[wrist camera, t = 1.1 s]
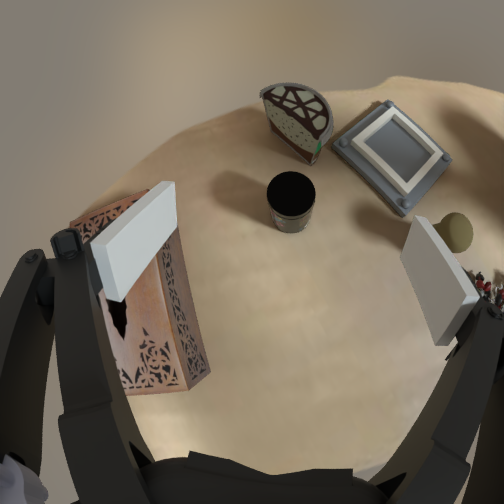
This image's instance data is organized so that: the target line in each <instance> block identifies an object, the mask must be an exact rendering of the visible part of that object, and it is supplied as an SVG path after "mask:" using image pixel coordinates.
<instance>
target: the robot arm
mask: <svg viewBox="0 0 504 504" xmlns="http://www.w3.org/2000/svg"><path fill="white" fill-rule="evenodd" d="M176 227H177V215H176V199H175V182H171V181H161V182H160V183H159V184H158V185H156V186H155V187H154V188H152V189H151V190H150V191H149V192H148V193H146V194H145V195H144V196H143V197H141V198H140V199H139V200H138V201H137V202H135V203H134V204H133V205H132V206H131V207H129V208H128V209H127V210H126V211H125V212H124V213H122V214H121V215H120V216H119V217H118V218H115V219H113V220H111V221H109V222H107V223H106V224H105V225H104V226H103V227H101V229H99V230H98V231H97V232H96V234H94V235H93V236H91V237H90V238H89V239H88V240H87V241H86V242H85V243H84V244H83V242H82V238H81V234H80V231H79V230H78V229H76V228H68V229H64V230H62V231H59V232H58V233H56V234H55V235H54V236H53V237H52V238H51V240H50V242H51V245H52V248H53V251H54V254H55V257H56V258H53V259H46V257H45V254H44V252H43V250H41V249H34V250H29V251H28V252H26V253H25V254H24V255H23V256H22V257H21V258H20V260H19V261H18V263H17V265H16V267H15V269H14V271H13V273H12V275H11V277H10V279H9V281H8V283H7V285H6V287H5V289H4V291H3V293H2V295H1V297H0V504H45V503H44V501H46V500H47V499H48V491H47V489H46V488H45V487H44V486H43V485H42V482H41V480H40V479H39V474H40V466H41V459H42V428H43V412H44V400H45V390H46V382H47V375H48V368H49V361H50V356H51V350H52V345H53V340H54V335H55V341H56V355H57V365H58V373H59V381H60V388H61V394H62V401H63V406H64V414H62V415H60V416H59V418H58V426H59V432H60V436H61V440H62V445H63V449H64V453H65V456H66V460H67V464H68V467H69V470H70V474H71V477H72V480H73V483H74V486H75V489H76V492H77V494H78V497H79V500H78V501H76V502H73V503H71V504H454V502H455V500H456V498H457V496H458V494H459V493H460V491H461V489H462V487H463V485H464V483H465V481H466V479H467V477H468V475H469V472H470V469H471V466H470V464H469V463H467V462H466V457H467V454H468V452H469V450H470V447H471V445H472V443H473V441H474V438H475V436H476V433H477V430H478V428H479V425H480V430H479V437H478V442H477V447H476V452H475V457H474V461H473V466H472V469H471V473H470V477H469V481H468V485H467V487H466V491H465V494H464V497H463V500H462V503H461V504H504V315H503V312H502V311H501V310H500V309H499V308H498V307H497V306H496V305H494V304H492V303H489V302H485V300H484V298H483V297H482V295H481V293H480V292H479V290H478V288H477V287H476V286H475V283H474V282H473V280H472V279H471V277H470V275H469V274H468V272H467V271H466V270H465V269H464V268H463V267H462V266H461V265H460V264H459V263H458V261H457V260H456V258H455V257H454V255H453V254H452V252H451V251H450V249H449V248H448V247H447V245H446V244H445V242H444V241H443V240H442V238H441V237H440V236H439V234H438V233H437V231H436V230H435V229H434V228H433V226H432V225H431V224H430V222H429V221H428V220H427V218H425V217H421V216H416V215H414V218H413V221H412V224H411V227H410V230H409V233H408V236H407V239H406V242H405V245H404V247H403V250H402V253H401V256H400V259H401V261H402V263H403V265H404V267H405V270H406V272H407V274H408V276H409V279H410V281H411V283H412V286H413V288H414V291H415V293H416V295H417V298H418V300H419V303H420V305H421V308H422V311H423V313H424V316H425V319H426V321H427V324H428V327H429V330H430V332H431V335H432V338H433V341H434V344H435V346H448V345H449V344H450V342H451V341H452V340H453V338H454V337H455V336H456V339H457V341H458V343H457V344H456V346H455V347H454V348H453V350H452V351H451V352H450V354H449V355H448V356H447V357H446V359H445V360H446V361H447V360H448V359H449V360H448V362H447V364H446V366H445V368H444V370H443V372H442V375H441V377H440V379H439V381H438V383H437V385H436V386H435V388H434V390H433V392H432V394H431V396H430V398H429V400H428V401H427V403H426V405H425V407H424V408H423V410H422V412H421V413H420V415H419V417H418V418H417V420H416V422H415V423H414V425H413V426H412V428H411V430H410V431H409V433H408V434H407V436H406V437H405V439H404V440H403V442H402V443H401V445H400V446H399V447H398V449H397V450H396V452H395V453H394V454H393V456H392V457H391V458H390V460H389V461H388V462H387V464H386V465H385V466H384V467H383V468H382V469H381V470H380V471H379V472H378V473H377V474H376V475H375V476H373V478H371V479H370V480H369V481H368V482H367V481H365V480H363V479H360V478H357V477H353V469H311V470H305V471H300V472H294V473H287V474H280V475H269V474H265V473H263V472H260V471H257V470H255V469H252V468H249V467H247V466H244V465H242V464H239V463H237V462H235V461H232V460H230V459H224V458H219V457H215V456H210V455H206V454H201V453H197V452H193V451H190V452H189V455H188V457H178V458H169V459H163V460H160V461H156V462H155V460H154V458H153V456H152V454H151V452H150V450H149V449H148V447H147V445H146V444H145V442H144V440H143V438H142V436H141V434H140V431H139V429H138V426H137V424H136V421H135V419H134V416H133V414H132V411H131V408H130V405H129V403H128V400H127V397H126V394H125V391H124V388H123V385H122V382H121V379H120V376H119V372H118V369H117V366H116V362H115V359H114V355H113V352H112V348H111V344H110V340H109V336H108V332H107V328H106V324H105V319H104V315H103V310H102V305H101V300H100V297H99V292H100V291H101V290H102V289H104V292H105V295H106V298H107V299H110V300H114V301H118V302H122V300H123V299H124V297H125V296H126V295H127V293H128V292H129V290H130V289H131V287H132V286H133V285H134V283H135V282H136V280H137V279H138V278H139V276H140V275H141V273H142V272H143V271H144V269H145V268H146V267H147V265H148V264H149V263H150V261H151V260H152V259H153V257H154V256H155V255H156V253H157V252H158V251H159V249H160V248H161V247H162V245H163V244H164V243H165V241H166V240H167V239H168V238H169V236H170V235H171V234H172V232H173V231H174V230H175V229H176ZM480 422H481V423H480Z"/></svg>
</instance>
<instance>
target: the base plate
mask: <svg viewBox="0 0 504 504" xmlns="http://www.w3.org/2000/svg"><path fill="white" fill-rule="evenodd" d="M332 149H334V150H335V151H336V152H337V153H338V154H339V155H340V156H341V157H342V158H344V159H345V160H346V161H347V162H348V163H349V164H350V165H351V166H352V167H353V168H354V169H355V170H356V171H357V172H358V173H360V174H361V175H362V176H363V177H364V178H365V179H366V180H367V181H368V182H369V183H370V184H371V185H372V186H373V187H374V188H375V189H376V190H377V191H378V192H379V193H380V194H381V195H382V196H383V198H384V199H385V200H386V201H387V202H388V203H389V204H390V205H391V206H392V207H393V208H394V209H395V210H396V211H397V212H398V214H399V215H400V216H401V217H402V218H403V217H405V216H406V215H407V214H408V213H409V211H410V210H411V209H412V208H413V207H414V206H415V205H416V204H417V202H418V201H419V200H420V199H421V198H422V197H423V195H424V194H425V193H426V192H427V191H428V190H429V188H430V187H431V186H432V185H433V184H434V182H435V181H436V180H437V179H438V178H439V176H440V175H441V174H442V173H443V171H444V170H445V169H446V168H447V167H448V165H449V164H450V163H451V161H452V159H451V158H450V155H449V154H448V153H446V152H445V151H444V150H443V149H442V148H441V147H440V146H439V145H438V144H437V143H436V142H435V141H434V140H433V139H432V138H431V137H430V136H429V135H428V134H427V133H426V132H425V131H424V130H423V129H422V128H421V127H419V126H418V125H417V124H416V123H415V122H414V121H413V120H412V119H411V118H409V117H408V116H407V115H406V114H405V113H404V112H403V111H401V110H400V109H399V108H398V107H397V106H395V105H394V103H393V102H392V101H389V100H386V101H385V102H384V103H382V104H381V105H380V106H379V107H377V108H376V109H375V110H374V111H372V112H371V113H370V114H368V115H367V116H366V117H365V118H363V119H362V120H361V121H360V122H358V123H357V124H356V125H355V126H353V127H352V128H351V129H350V130H348V131H347V132H346V133H345V134H343V135H342V136H341V137H340V138H338V139H337V140H336V141H335V142H333V144H332Z"/></svg>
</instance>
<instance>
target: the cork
mask: <svg viewBox="0 0 504 504" xmlns="http://www.w3.org/2000/svg"><path fill="white" fill-rule="evenodd" d="M432 226H433V228H434V229H435V230H436V231H437V233H438V234H439V236H440V237H441V238H442V240H443V241H444V242H445V244H446V245H447V247H448V248H449V249H450V251H451V252H452V253H461V252H463V251H465V250H466V249H467V248H468V247H469V246H470V245H471V242H472V240H473V228H472V225H471V223H470V221H469V220H468V219H467V218H466V217H465V216H464V215H462V214H460V213H450V214H448V215H446V216H445V217H444V218H443V219H442V221H441V223H438V224H434V225H432Z"/></svg>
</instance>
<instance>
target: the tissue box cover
mask: <svg viewBox="0 0 504 504" xmlns="http://www.w3.org/2000/svg"><path fill="white" fill-rule="evenodd" d="M149 191H150V190H149V189H146V190H144V191H141V192H139V193H136V194H133V195H131V196H128V197H126V198H124V199H121V200H119V201H116V202H114V203H112V204H109V205H107V206H105V207H102V208H100V209H98V210H95V211H93V212H91V213H89V214H86V215H84V216H82V217H80V218H78V219H76V220H73V221H71V222H70V228H76V229H78V230H79V231H80V234H81V238H82V242H83V244H84V243H85V242H86V241H87V240H88V239H89V238H90V237H91V236H93V235H94V234H96V232H97V231H98V230H99V229H101V227H103V226H104V225H105V224H106V223H107V222H109V221H111V220H113V219H115V218H118V217H119V216H120V215H121V214H122V213H124V212H125V211H126V210H127V209H128V208H129V207H131V206H132V205H133V204H134V203H135V202H137V201H138V200H139V199H140V198H141V197H143V196H144V195H145V194H146V193H148V192H149ZM99 297H100V300H101V305H102V310H103V315H104V319H105V324H106V328H107V332H108V336H109V340H110V344H111V348H112V352H113V355H114V359H115V362H116V366H117V369H118V372H119V376H120V379H121V382H122V385H123V388H124V391H125V394H126V396H131V395H148V394H160V393H171V392H181V391H189V390H190V389H191V388H192V387H194V386H195V385H196V384H197V383H198V382H200V381H201V380H202V379H203V378H204V377H206V376H207V375H208V374H209V373H210V372H211V371H210V367H209V364H208V360H207V356H206V352H205V349H204V345H203V341H202V337H201V333H200V329H199V325H198V320H197V316H196V312H195V308H194V303H193V299H192V295H191V290H190V285H189V281H188V276H187V271H186V266H185V261H184V256H183V251H182V246H181V241H180V235H179V230H178V224H177V227H176V229H175V230H174V231H173V232H172V234H171V235H170V236H169V238H168V239H167V240H166V241H165V243H164V244H163V245H162V247H161V248H160V249H159V251H158V252H157V253H156V255H155V256H154V257H153V259H152V260H151V261H150V263H149V264H148V265H147V267H146V268H145V269H144V271H143V272H142V273H141V275H140V276H139V278H138V279H137V280H136V282H135V283H134V285H133V286H132V287H131V289H130V290H129V292H128V293H127V295H126V296H125V297H124V299H123V300H122V302H118V301H114V300H110V299H107V298H106V295H105V292H104V289H102V290H101V291H100V292H99Z"/></svg>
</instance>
